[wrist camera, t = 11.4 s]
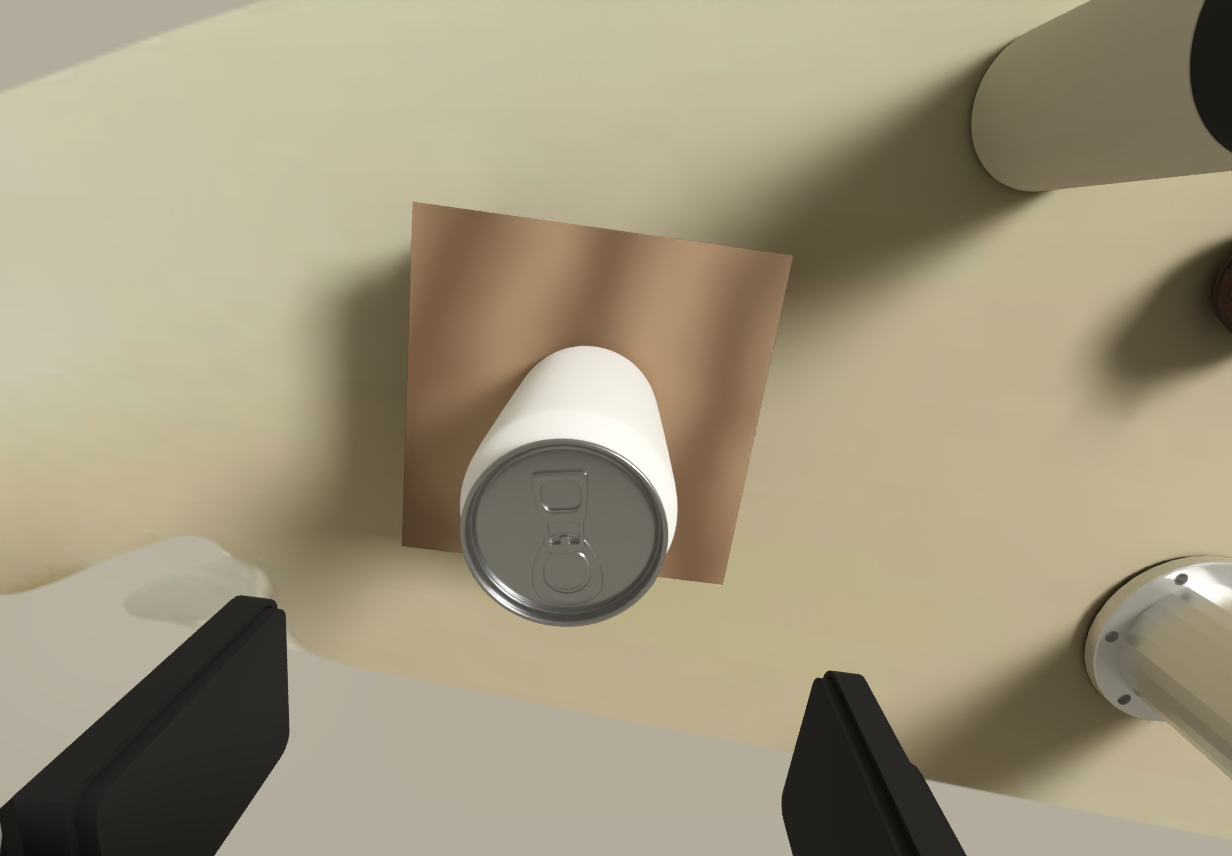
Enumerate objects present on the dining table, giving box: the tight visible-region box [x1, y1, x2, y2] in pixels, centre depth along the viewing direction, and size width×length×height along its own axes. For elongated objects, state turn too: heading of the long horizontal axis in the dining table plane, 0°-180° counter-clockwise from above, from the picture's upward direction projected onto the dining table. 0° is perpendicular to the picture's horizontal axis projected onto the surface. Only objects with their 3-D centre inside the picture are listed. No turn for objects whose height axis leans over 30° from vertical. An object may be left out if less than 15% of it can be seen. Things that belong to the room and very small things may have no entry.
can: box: [460, 346, 677, 627], centre depth 22 cm, size 6×6×12 cm
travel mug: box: [971, 0, 1232, 192], centre depth 23 cm, size 8×8×18 cm
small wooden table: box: [402, 202, 793, 585], centre depth 32 cm, size 16×16×9 cm
